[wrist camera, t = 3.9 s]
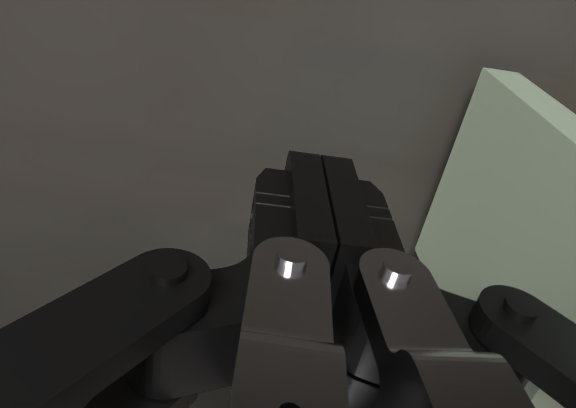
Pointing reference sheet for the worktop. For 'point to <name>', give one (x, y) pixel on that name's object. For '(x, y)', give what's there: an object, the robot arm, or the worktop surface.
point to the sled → (508, 200)
